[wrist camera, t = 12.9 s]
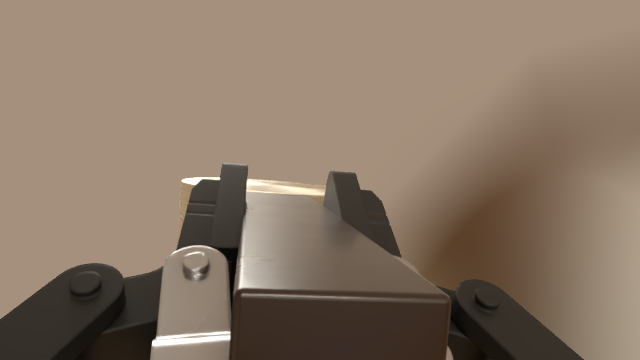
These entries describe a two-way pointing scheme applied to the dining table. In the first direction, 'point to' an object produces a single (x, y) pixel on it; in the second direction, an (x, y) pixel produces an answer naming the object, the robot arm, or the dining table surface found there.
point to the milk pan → (323, 285)
